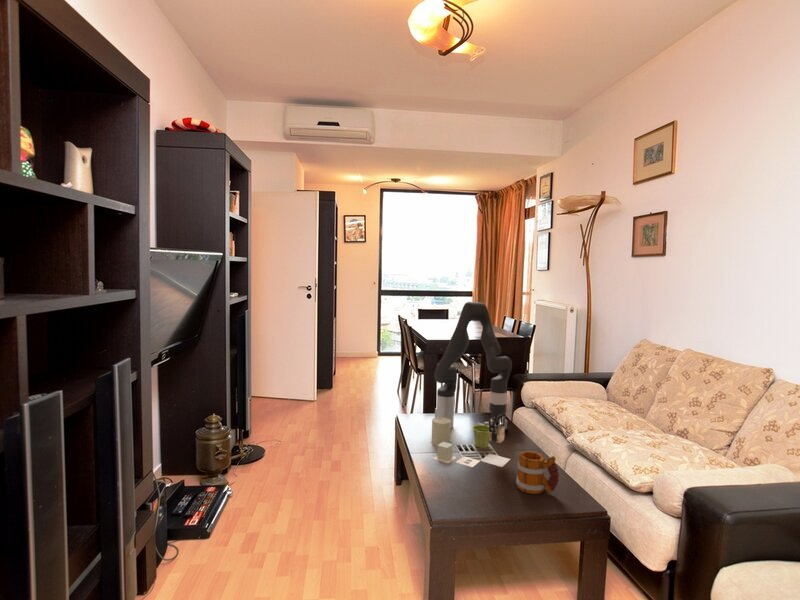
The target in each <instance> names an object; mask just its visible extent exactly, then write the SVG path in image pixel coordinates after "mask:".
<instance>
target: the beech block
mask: <svg viewBox="0 0 800 600" xmlns="http://www.w3.org/2000/svg"><path fill="white" fill-rule="evenodd" d="M495 426H497V425H495ZM505 430H506V429H505V426H500V425H499V428H498V429H497V441H496V442H494V441H492V432H489V442H494V443H498V444H501V443H502V442H504V440H505Z"/></svg>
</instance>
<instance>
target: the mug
mask: <svg viewBox="0 0 800 600" xmlns="http://www.w3.org/2000/svg"><path fill="white" fill-rule="evenodd" d="M556 459H557V458H556V457H555V456H554V455H553V456H551V457H549V458H548V459H547V460H546V459H545V456H544V455H543V454H541V453H539V452H535V451H531V450H529V451H527V450H525V451H521V452H520V453H518V461H517V469H518V472H517V476H516V480H515V483H516V487H517V488H516V489H518V490H520V491H521V492H523V493H525V494H531V495H538V494H539V495H540V494H542V493H543V492H544V491H546V492H547V494H552V493H553V492H554V491H555V489H556V487H557V486H558V483H559V477H560V474H559V471H558V470H559V469H558V466H557V464H556ZM546 469H547V472H548V473H549V477H548V478H547V477H545V472H546Z"/></svg>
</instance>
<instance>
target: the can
mask: <svg viewBox="0 0 800 600" xmlns="http://www.w3.org/2000/svg"><path fill="white" fill-rule="evenodd" d="M450 427H451V420H450V419H448V418H444V417H436V418H435V417H433V418H432V419H431V441H430V443H431V444H432V445H433V446H435V447H438V444H440V443H442V442H446V443H450V444H451V429H450Z"/></svg>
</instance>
